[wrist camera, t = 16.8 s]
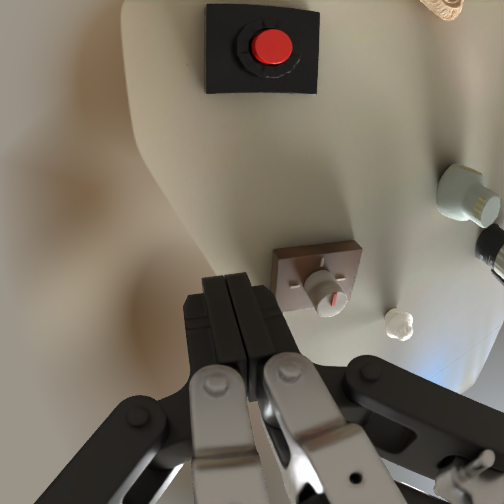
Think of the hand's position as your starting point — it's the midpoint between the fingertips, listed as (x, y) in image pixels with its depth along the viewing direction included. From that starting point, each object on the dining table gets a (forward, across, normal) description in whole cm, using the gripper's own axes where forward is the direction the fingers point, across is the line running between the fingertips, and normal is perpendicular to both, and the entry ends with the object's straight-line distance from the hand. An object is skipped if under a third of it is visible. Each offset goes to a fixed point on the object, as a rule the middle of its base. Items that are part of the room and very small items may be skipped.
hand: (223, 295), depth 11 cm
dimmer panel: (+27, -17, +21) cm, 38 cm away
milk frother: (+26, -66, +20) cm, 74 cm away
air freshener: (+27, -42, +7) cm, 50 cm away
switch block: (+27, -8, -10) cm, 30 cm away
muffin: (+27, -37, +35) cm, 58 cm away
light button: (+23, -8, -10) cm, 26 cm away
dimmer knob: (+24, -17, +21) cm, 36 cm away
